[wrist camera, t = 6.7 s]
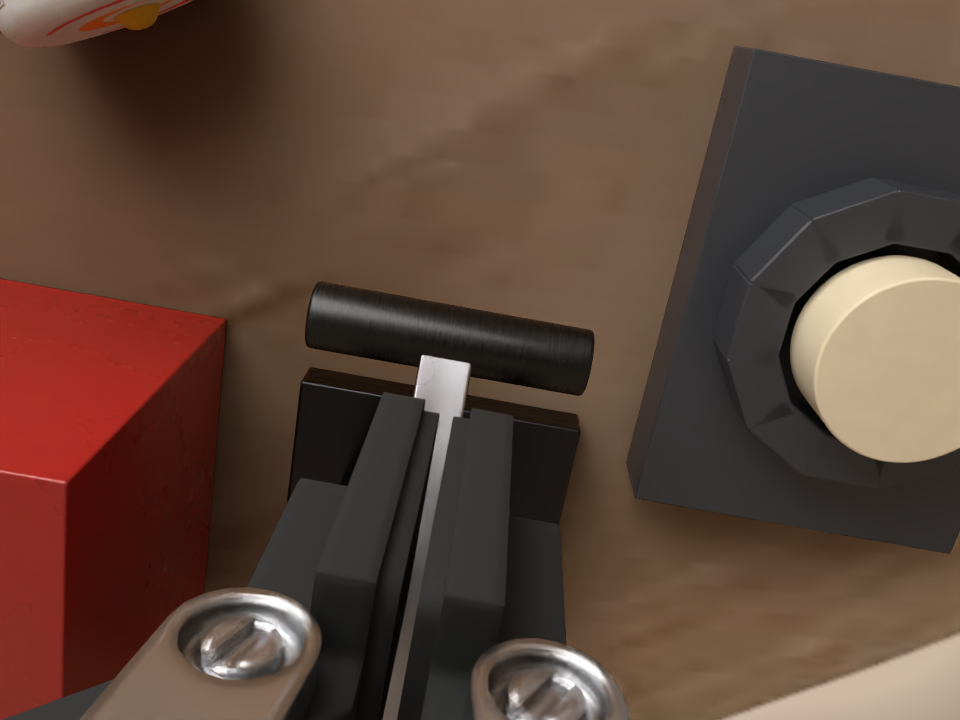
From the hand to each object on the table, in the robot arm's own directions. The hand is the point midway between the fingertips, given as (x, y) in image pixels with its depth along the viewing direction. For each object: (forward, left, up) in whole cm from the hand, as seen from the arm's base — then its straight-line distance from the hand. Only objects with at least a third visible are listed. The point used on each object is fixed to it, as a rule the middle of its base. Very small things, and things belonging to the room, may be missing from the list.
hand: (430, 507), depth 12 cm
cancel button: (-5, +9, -11) cm, 15 cm away
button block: (-5, +9, -15) cm, 18 cm away
